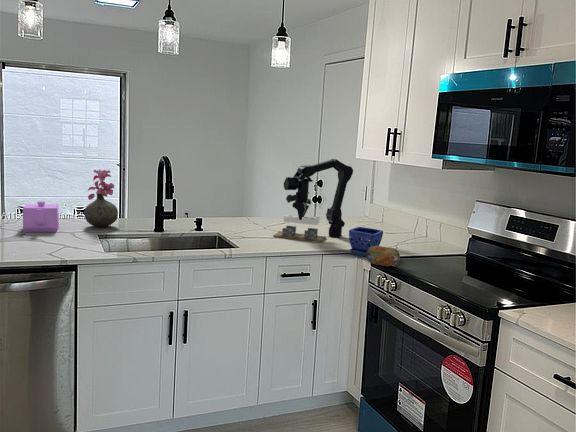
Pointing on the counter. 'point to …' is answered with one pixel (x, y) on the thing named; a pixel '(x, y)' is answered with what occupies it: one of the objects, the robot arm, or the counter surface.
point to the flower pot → (364, 239)
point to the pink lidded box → (40, 217)
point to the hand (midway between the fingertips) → (301, 219)
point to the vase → (101, 203)
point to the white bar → (303, 221)
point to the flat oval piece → (383, 256)
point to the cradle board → (308, 235)
